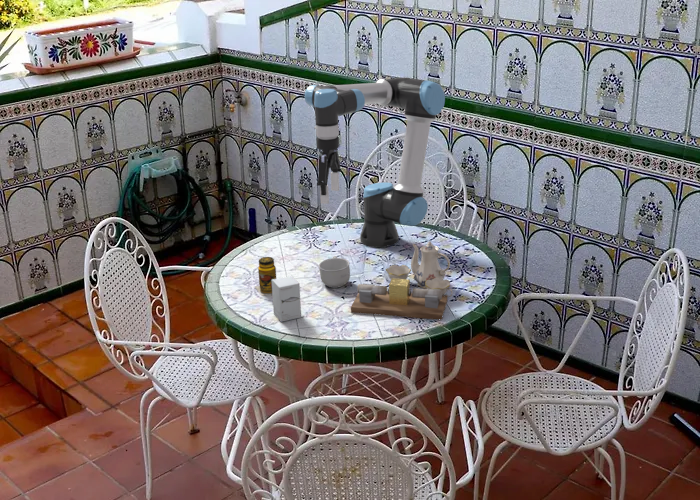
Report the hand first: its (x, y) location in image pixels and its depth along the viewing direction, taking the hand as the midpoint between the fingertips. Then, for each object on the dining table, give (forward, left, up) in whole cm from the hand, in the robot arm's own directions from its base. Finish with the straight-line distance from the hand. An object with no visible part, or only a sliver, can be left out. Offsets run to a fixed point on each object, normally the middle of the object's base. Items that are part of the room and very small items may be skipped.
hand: (330, 196), depth 289 cm
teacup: (+1, +1, -32) cm, 32 cm away
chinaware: (-1, +32, -32) cm, 46 cm away
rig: (+16, +27, -32) cm, 45 cm away
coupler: (+16, +27, -30) cm, 43 cm away
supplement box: (+29, -8, -32) cm, 44 cm away
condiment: (+11, -21, -32) cm, 40 cm away
